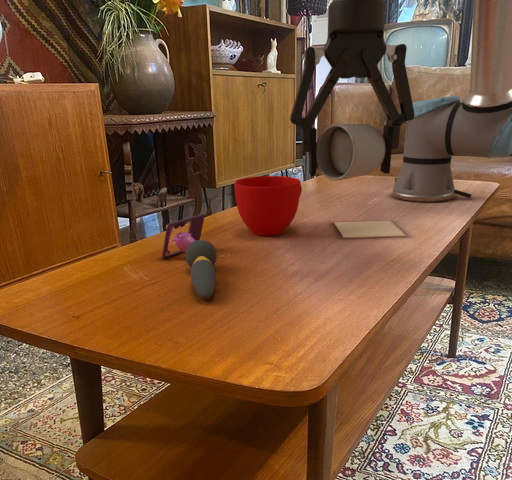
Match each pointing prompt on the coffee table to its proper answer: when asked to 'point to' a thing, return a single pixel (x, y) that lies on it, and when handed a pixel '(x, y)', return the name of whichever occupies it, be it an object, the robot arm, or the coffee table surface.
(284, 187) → the ceramic cup
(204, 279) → the grey wand massager
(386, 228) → the coaster
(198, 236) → the purple open frame
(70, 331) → the coffee table surface
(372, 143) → the ceramic mug
